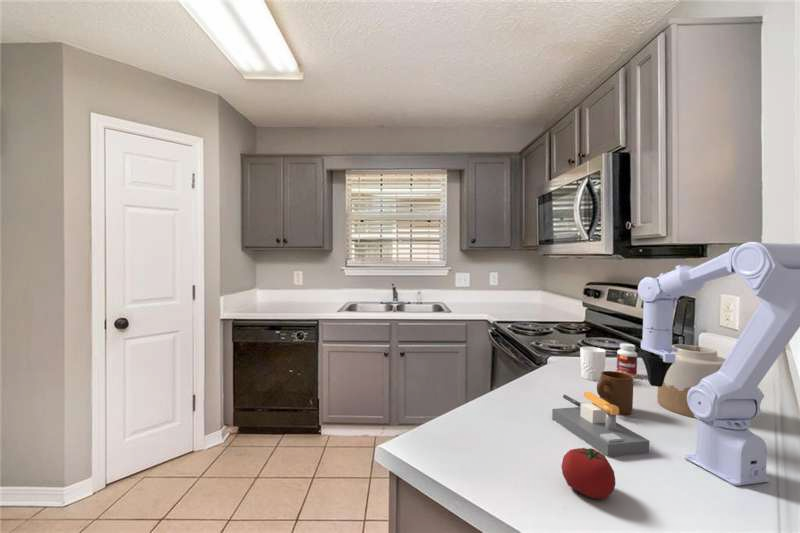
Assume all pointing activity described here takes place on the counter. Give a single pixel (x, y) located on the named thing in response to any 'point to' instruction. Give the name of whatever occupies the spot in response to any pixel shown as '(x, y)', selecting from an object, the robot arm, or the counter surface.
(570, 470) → the tomato
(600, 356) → the white cup
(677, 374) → the vase
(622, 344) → the pill bottle
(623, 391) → the mug
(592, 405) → the plug
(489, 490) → the counter surface
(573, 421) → the grey piece
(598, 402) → the clip
